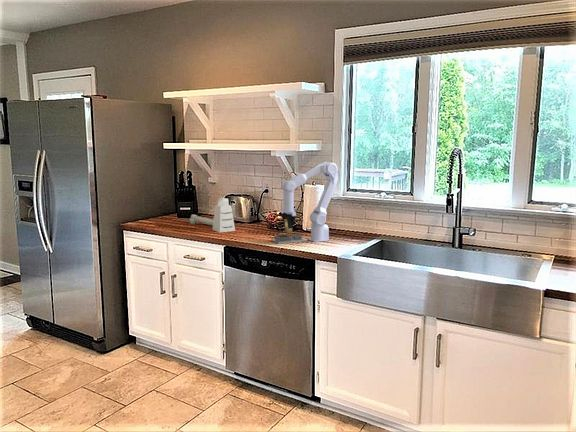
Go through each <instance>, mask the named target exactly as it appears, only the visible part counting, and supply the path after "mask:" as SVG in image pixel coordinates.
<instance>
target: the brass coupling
mask: <svg viewBox="0 0 576 432" xmlns="http://www.w3.org/2000/svg"><path fill="white" fill-rule="evenodd" d="M284 221H285V227H284V233H293V227H292V228H288V222H287V219H284Z"/></svg>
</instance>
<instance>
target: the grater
mask: <svg viewBox="0 0 576 432" xmlns="http://www.w3.org/2000/svg"><path fill="white" fill-rule="evenodd" d="M229 200H230V199H229V198H228V197H227V198H225V197H218V199H217V204H215V205H214V212H213V214H214V215H213V219H212V220H213V226H212V231H215V232H217V233H226V232H236V228H235V221H234V220H235V219H234V214H233V208H232V205H230V204H229Z"/></svg>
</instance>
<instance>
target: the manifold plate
mask: <svg viewBox="0 0 576 432" xmlns="http://www.w3.org/2000/svg"><path fill="white" fill-rule="evenodd" d="M308 239H309V238H308ZM308 239H307V238H305V237H303V235H302V234H299V233H296V234H291V236H290V235H288V234H275V235H274V238H271V242H272V243H273V242H274V243H275V244H277V245H281V244H292V243H302V242H308Z"/></svg>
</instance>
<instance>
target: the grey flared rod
mask: <svg viewBox="0 0 576 432" xmlns="http://www.w3.org/2000/svg"><path fill="white" fill-rule="evenodd" d="M213 220H214V219H213V218H212V219H211V218H207V217H203V216H199V215H197V214H191V215H190V218H189V224H191V225H197V224H198V223H203V224H206V225H209V226H211V227H213Z"/></svg>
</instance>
